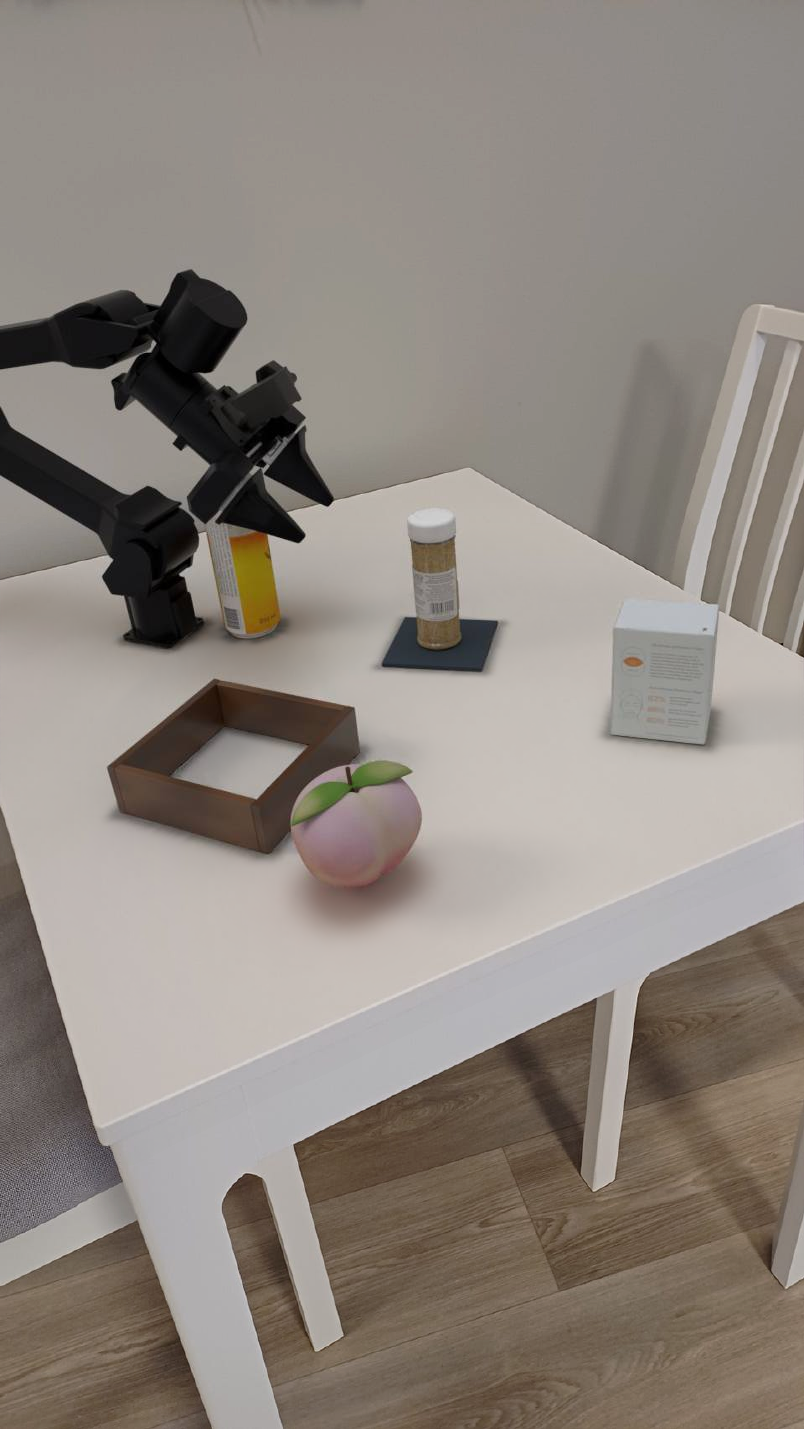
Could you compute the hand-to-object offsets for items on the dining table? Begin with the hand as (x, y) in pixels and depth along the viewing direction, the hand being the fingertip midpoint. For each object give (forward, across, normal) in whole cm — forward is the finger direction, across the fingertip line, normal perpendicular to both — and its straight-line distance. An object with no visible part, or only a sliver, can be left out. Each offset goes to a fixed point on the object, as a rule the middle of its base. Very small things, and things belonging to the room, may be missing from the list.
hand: (317, 520), depth 95 cm
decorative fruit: (+18, -34, +1) cm, 39 cm away
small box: (+33, -11, -14) cm, 37 cm away
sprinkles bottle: (+17, +1, +2) cm, 17 cm away
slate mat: (+18, +1, +2) cm, 18 cm away
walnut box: (+9, -24, +10) cm, 27 cm away
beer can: (+3, +3, +17) cm, 17 cm away
